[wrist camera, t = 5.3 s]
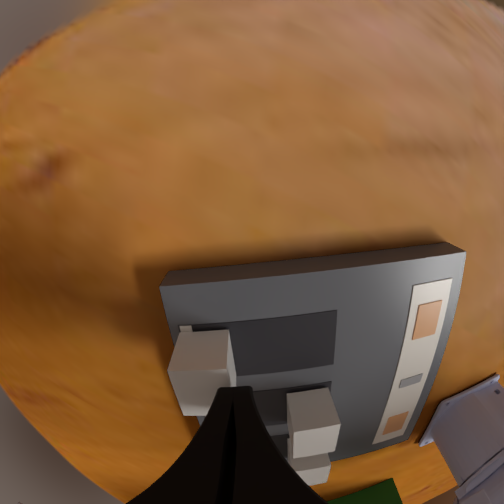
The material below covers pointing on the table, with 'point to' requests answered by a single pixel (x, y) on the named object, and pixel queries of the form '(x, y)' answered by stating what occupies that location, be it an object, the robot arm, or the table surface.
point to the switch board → (330, 333)
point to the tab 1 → (201, 369)
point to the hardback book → (372, 495)
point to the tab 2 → (310, 467)
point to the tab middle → (312, 422)
